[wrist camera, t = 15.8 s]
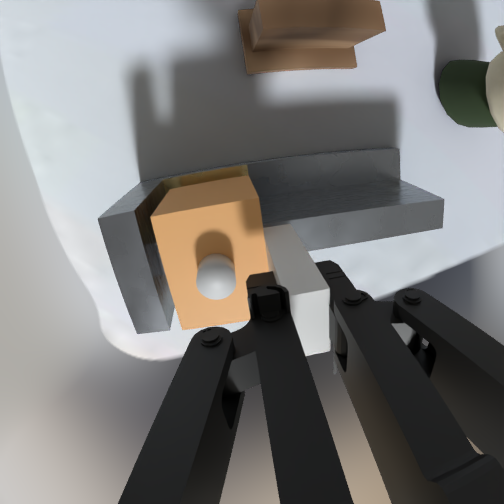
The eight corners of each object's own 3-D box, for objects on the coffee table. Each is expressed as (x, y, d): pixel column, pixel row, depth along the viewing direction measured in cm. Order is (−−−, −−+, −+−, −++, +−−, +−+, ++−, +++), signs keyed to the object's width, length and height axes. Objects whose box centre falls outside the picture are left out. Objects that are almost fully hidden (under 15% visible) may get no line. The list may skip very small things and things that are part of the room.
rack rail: (140, 182, 22) (97, 218, 14) (393, 147, 23) (464, 167, 15) (161, 266, 25) (137, 334, 17) (394, 227, 26) (454, 274, 18)
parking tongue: (237, 14, 18) (244, -24, 12) (341, 11, 18) (381, -19, 12) (247, 74, 20) (257, 55, 14) (352, 68, 20) (397, 55, 14)
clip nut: (170, 188, 20) (144, 225, 13) (248, 175, 20) (262, 204, 13) (190, 278, 22) (180, 344, 16) (261, 266, 22) (278, 329, 16)
